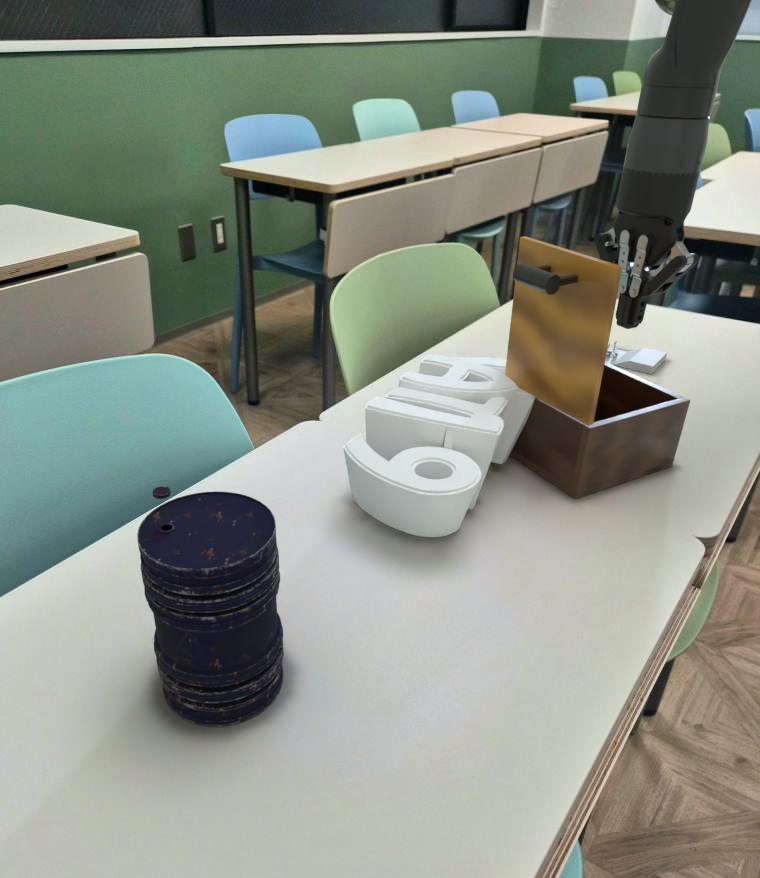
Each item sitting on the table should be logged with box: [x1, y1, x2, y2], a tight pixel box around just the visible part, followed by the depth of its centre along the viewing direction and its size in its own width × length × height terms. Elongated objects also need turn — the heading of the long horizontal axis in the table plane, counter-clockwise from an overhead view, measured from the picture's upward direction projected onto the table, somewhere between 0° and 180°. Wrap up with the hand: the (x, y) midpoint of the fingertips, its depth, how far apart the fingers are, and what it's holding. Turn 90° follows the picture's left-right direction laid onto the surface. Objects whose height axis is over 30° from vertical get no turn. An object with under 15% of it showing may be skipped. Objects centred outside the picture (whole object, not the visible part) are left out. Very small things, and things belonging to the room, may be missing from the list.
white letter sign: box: [342, 353, 537, 538], centre depth 84 cm, size 35×16×11 cm, turn 149°
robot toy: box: [605, 340, 668, 375], centre depth 120 cm, size 7×12×2 cm, turn 53°
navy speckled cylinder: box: [136, 485, 285, 728], centre depth 55 cm, size 10×10×18 cm
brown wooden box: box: [509, 362, 691, 500], centre depth 90 cm, size 16×14×9 cm
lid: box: [505, 235, 623, 425], centre depth 78 cm, size 17×14×5 cm
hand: (627, 326), depth 85 cm, fingers closed
